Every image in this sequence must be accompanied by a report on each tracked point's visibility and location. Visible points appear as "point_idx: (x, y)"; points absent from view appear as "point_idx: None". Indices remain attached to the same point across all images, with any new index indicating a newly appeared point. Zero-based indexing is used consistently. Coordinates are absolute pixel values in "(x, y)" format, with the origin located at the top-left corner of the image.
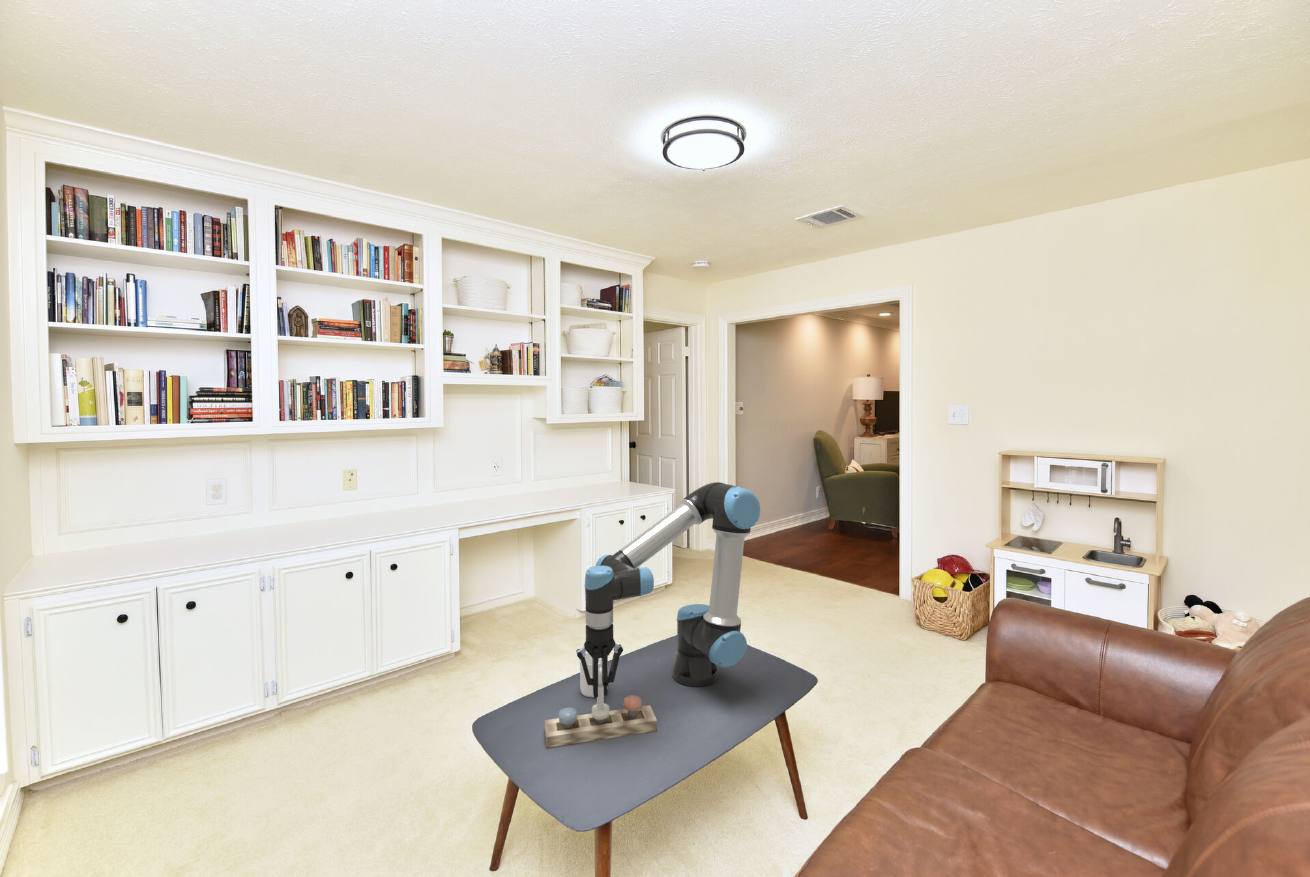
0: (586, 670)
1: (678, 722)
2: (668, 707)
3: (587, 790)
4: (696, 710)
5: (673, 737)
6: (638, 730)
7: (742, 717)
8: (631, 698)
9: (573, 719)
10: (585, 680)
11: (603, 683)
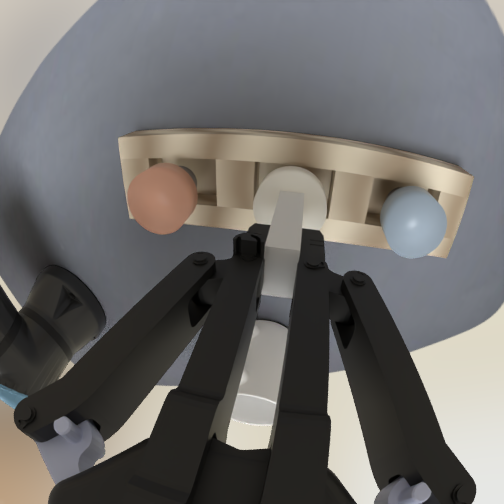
0: (391, 362)
1: (88, 157)
2: (105, 222)
3: None
4: (59, 194)
5: (105, 96)
6: (181, 130)
7: (8, 153)
8: (158, 214)
9: (404, 193)
10: None
11: (261, 260)
